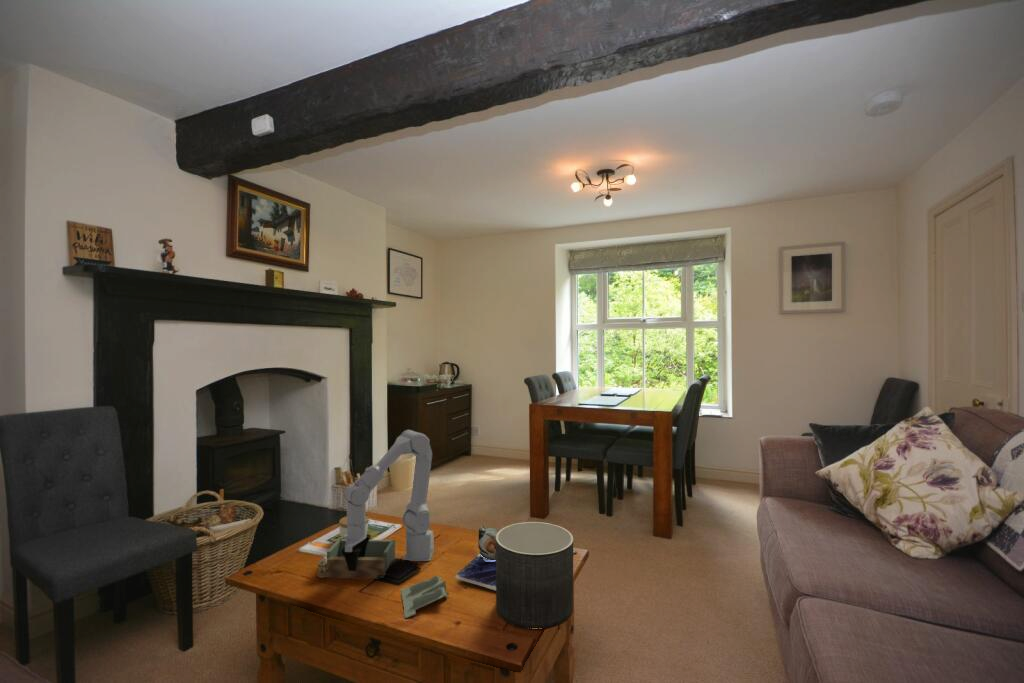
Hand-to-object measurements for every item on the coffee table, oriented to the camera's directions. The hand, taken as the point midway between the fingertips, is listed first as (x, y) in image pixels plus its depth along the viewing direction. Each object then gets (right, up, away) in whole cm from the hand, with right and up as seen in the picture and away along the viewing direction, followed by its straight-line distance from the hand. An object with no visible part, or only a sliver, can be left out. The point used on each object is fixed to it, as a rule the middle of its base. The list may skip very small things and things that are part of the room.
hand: (356, 564), depth 150 cm
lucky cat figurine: (+45, -4, +11) cm, 47 cm away
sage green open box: (-1, -4, +6) cm, 7 cm away
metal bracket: (+24, -5, -14) cm, 28 cm away
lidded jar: (-10, -4, +28) cm, 30 cm away
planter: (+56, -4, -17) cm, 59 cm away
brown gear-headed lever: (-2, -4, 0) cm, 4 cm away
